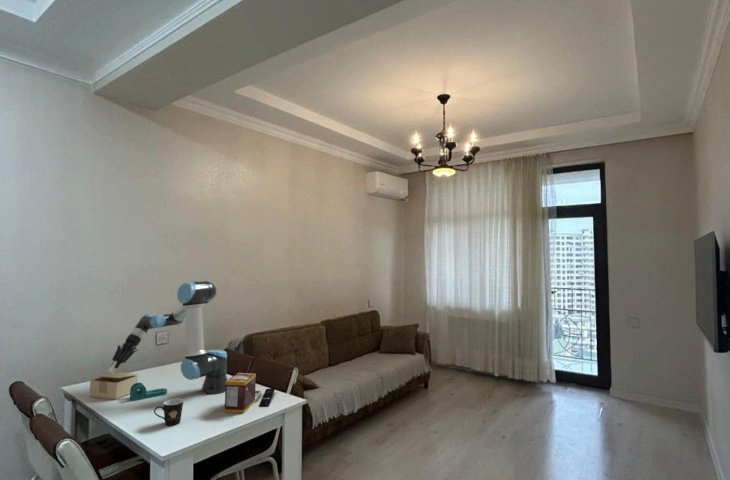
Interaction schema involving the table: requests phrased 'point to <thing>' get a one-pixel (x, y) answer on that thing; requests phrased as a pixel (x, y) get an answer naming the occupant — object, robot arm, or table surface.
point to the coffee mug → (171, 411)
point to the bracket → (144, 392)
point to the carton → (111, 387)
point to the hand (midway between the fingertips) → (109, 372)
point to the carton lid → (114, 374)
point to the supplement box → (240, 392)
